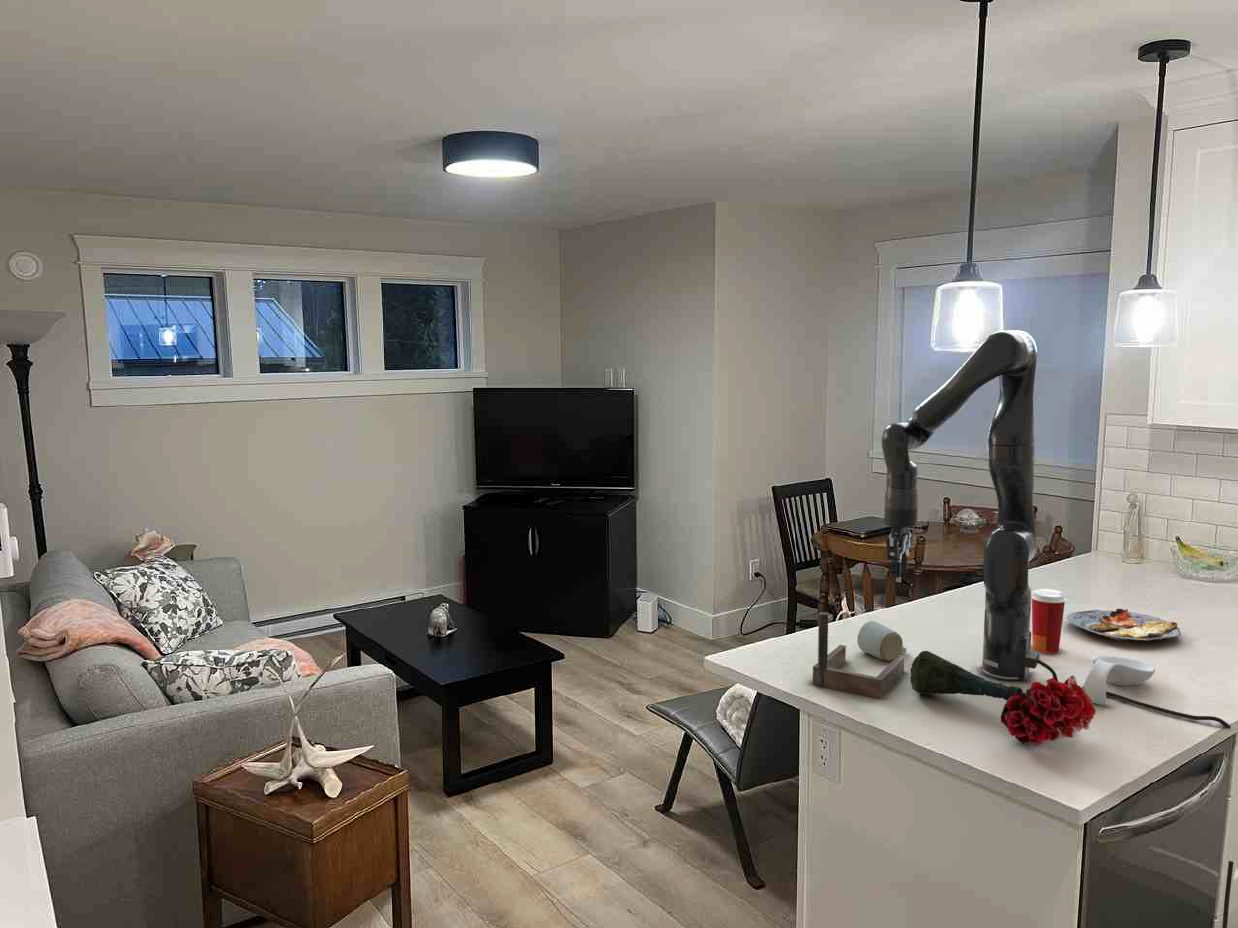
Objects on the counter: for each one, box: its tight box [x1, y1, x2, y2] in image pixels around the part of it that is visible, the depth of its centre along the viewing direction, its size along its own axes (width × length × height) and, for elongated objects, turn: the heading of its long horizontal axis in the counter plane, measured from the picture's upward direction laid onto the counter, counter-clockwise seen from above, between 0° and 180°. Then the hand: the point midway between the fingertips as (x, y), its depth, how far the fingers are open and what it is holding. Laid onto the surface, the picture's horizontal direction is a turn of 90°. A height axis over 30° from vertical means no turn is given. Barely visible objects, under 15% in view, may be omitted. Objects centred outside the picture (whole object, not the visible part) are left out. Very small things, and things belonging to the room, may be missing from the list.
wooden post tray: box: [812, 611, 905, 699], centre depth 196 cm, size 15×17×16 cm
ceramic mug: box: [856, 620, 907, 662], centre depth 211 cm, size 11×8×8 cm
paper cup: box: [1031, 588, 1067, 655], centre depth 213 cm, size 8×8×14 cm
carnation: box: [909, 650, 1097, 745], centre depth 174 cm, size 16×18×35 cm
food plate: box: [1065, 608, 1182, 641], centre depth 226 cm, size 25×23×4 cm
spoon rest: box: [1083, 655, 1156, 706], centre depth 190 cm, size 24×12×7 cm, turn 135°
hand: (898, 574), depth 217 cm, fingers open, 5 cm apart
